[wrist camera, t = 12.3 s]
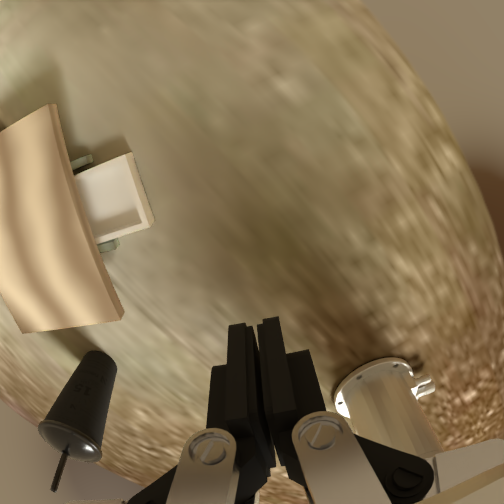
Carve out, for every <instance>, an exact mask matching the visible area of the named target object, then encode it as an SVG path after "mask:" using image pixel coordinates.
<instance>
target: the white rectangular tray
mask: <svg viewBox="0 0 504 504" xmlns="http://www.w3.org/2000/svg"><path fill="white" fill-rule="evenodd" d="M74 178H75V182H76V185H77V188H78V192H79V195H80V198H81V201H82V204H83V208H84V211H85V214H86V217H87V219H88V222H89V225H90V228H91V231H92V234H93V236H94V239H95V242H96V244H99V243H103V242H106V241H109V240H112V239H115V238H118V237H121V236H124V235H127V234H130V233H133V232H137V231H140V230H143V229H146V228H149V227H151V225H152V224H153V223H154V221H155V219H154V216H153V213H152V210H151V208H150V205H149V202H148V199H147V196H146V193H145V190H144V187H143V184H142V181H141V178H140V175H139V172H138V169H137V166H136V163H135V160H134V157H133V153H132V152H130V153H127V154H124V155H122V156H119V157H117V158H114V159H112V160H109V161H107V162H104V163H102V164H100V165H97V166H95V167H93V168H90V169H88V170H86V171H83V172H81V173H79V174H77V175H75V176H74Z"/></svg>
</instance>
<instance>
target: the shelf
mask: <svg viewBox="0 0 504 504" xmlns="http://www.w3.org/2000/svg"><path fill="white" fill-rule="evenodd" d="M92 162H93V159H92V155H91V154H90V155H86V156H84V157H81V158H79V159H76V160H74V161H71V162H70V160H69V157H68V153H67V149H66V145H65V141H64V137H63V132H62V128H61V123H60V119H59V114H58V109H57V104H47V105H45V106H43V107H41V108H40V109H38V110H36V111H34V112H32V113H31V114H29V115H27V116H25V117H24V118H22V119H20V120H19V121H17V122H15V123H14V124H12V125H11V126H9V127H7V128H6V129H4V130H3V131H1V132H0V293H1V295H2V297H3V299H4V301H5V303H6V305H7V307H8V309H9V311H10V313H11V314H12V316H13V318H14V320H15V322H16V323H17V325H18V327H19V329H20V330H21V332H22V334H24V333H32V332H40V331H48V330H56V329H64V328H71V327H78V326H85V325H92V324H99V323H106V322H112V321H119V320H121V318H122V316H123V314H124V312H125V311H124V309H123V307H122V305H121V303H120V300H119V298H118V296H117V294H116V291H115V289H114V287H113V284H112V282H111V280H110V277H109V275H108V273H107V270H106V268H105V265H104V263H103V260H102V258H101V255H100V253H103V252H107V251H111V250H115V249H116V248H117V247H118V246H119V245H120V244H119V242H118V239H117V238H115V239H112V240H109V241H106V242H103V243H99V244H96V242H95V239H94V236H93V234H92V231H91V228H90V225H89V222H88V219H87V217H86V214H85V211H84V208H83V204H82V201H81V198H80V195H79V192H78V188H77V185H76V182H75V178H74V175H73V171H72V170H74V169H76V168H79V167H81V166H84V165H86V164H89V163H92Z"/></svg>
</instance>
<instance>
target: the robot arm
mask: <svg viewBox="0 0 504 504" xmlns="http://www.w3.org/2000/svg"><path fill="white" fill-rule="evenodd" d="M257 332H258V343H259V350H258V346H257V342H256V338H255V334H254V330H253V327H252V326H246V323H240V324H234V325H229V328H228V350H227V364H226V365H219V366H213V367H212V371H211V381H210V391H209V402H208V413H207V425H206V429H204V430H201V431H198V432H196V433H195V434H193V435H192V436H191V437H190V438H189V439H188V440H187V441H186V443H185V445H184V447H183V450H182V453H181V457H180V460H179V463H178V465H176V466H175V467H174V468H172V469H171V470H170V471H168V472H167V473H166V474H164V475H163V476H162V477H160V478H159V479H157V480H156V481H155V482H153V483H152V484H150V485H149V486H148V487H146V488H145V489H143V490H142V491H141V492H139V493H137V494H136V495H135V496H133V497H132V498H131V499H130V500H127V501H123V500H122V499H109V500H89V501H88V500H87V501H69V502H67V503H65V504H259V497H260V488H261V487H262V486H263V485H264V484H265V483H266V482H267V477H270V476H271V474H270V468H274V467H276V460H275V450H274V445H275V449H276V452H277V455H278V458H279V461H280V464H281V466H285V467H286V470H287V473H288V477H289V479H291V480H293V481H295V482H297V483H298V484H300V485H302V486H303V489H304V492H305V494H306V497H307V500H308V503H309V504H504V440H502V439H491V440H487V441H484V442H481V443H478V444H474V445H471V446H467V447H463V448H459V449H456V450H451V451H447V452H444V450H443V448H442V446H441V444H440V442H439V440H438V438H437V436H436V435H435V433H434V431H433V429H432V427H431V425H430V423H429V421H428V419H427V417H426V415H425V414H424V412H423V410H422V408H421V406H420V404H419V403H418V401H417V400H418V397H421V396H423V395H427V394H429V393H432V392H434V391H435V384H434V382H433V381H431V377H430V375H429V374H426V375H424V376H421V377H420V378H417V379H415V378H413V371H412V368H411V367H410V365H409V364H408V363H407V362H406V361H405V360H403V359H401V358H395V357H389V358H382V359H378V360H375V361H372V362H369V363H367V364H365V365H363V366H361V367H359V368H358V369H356V370H355V371H353V372H352V373H350V374H349V375H348V376H347V377H346V378H345V379H344V380H343V381H342V382H341V383H340V385H339V386H338V388H337V389H336V391H335V394H334V404H335V408H336V410H337V411H338V412H339V413H340V414H341V415H343V416H345V417H349V418H350V419H351V421H352V424H353V427H354V430H355V433H356V434H353V432H352V430H351V429H350V427H349V425H348V423H347V422H346V421H345V419H344V418H343V417H342V416H340V415H338V414H337V413H333V412H329V411H326V407H325V404H324V400H323V397H322V393H321V390H320V386H319V382H318V379H317V375H316V372H315V368H314V365H313V362H312V358H311V355H310V352H309V349H308V350H303V351H298V352H294V353H289V354H286V352H285V347H284V342H283V337H282V332H281V326H280V321H279V316H277V317H272V318H267V319H263V324H258V325H257Z"/></svg>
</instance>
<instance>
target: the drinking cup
mask: <svg viewBox="0 0 504 504" xmlns="http://www.w3.org/2000/svg"><path fill="white" fill-rule="evenodd" d="M116 373H117V366H116V364H115V362H114V361H113V360H112V359H111V358H110V357H109V356H108V355H106V354H104V353H102V352H99V351H90V352H88V353H87V354H86V355H85V356H84V358H83V359H82V361H81V362H80V364H79V365H78V367H77V368H76V370H75V371H74V373H73V374H72V376H71V377H70V379H69V381H68V382H67V384H66V385H65V387H64V388H63V390H62V392H61V393H60V395H59V396H58V398H57V400H56V401H55V403H54V404H53V406H52V408H51V409H50V411H49V413H48V414H47V416H46V418H45V419H44V420H43V421H41V422H40V423H39V425H38V431H39V434H40V435H41V437H42V438H43V439H44V440H45V441H46V442H47V443H48V444H49V445H50V446H51V447H52V448H53V449H54V450H56V451H57V452H58V453H60V454H62V455H61V458H60V461H59V464H58V467H57V470H56V473H55V476H54V479H53V482H52V485H51V489H50V490H51V491H53V492H55V493H56V492H57V489H58V486H59V482H60V479H61V476H62V473H63V470H64V467H65V463H66V460H67V458H70V459H73V460H76V461H83V462H91V463H93V462H98V461H99V460H101V458H102V451H101V445H102V439H103V434H104V428H105V423H106V418H107V413H108V408H109V403H110V399H111V394H112V390H113V385H114V381H115V377H116Z"/></svg>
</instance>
